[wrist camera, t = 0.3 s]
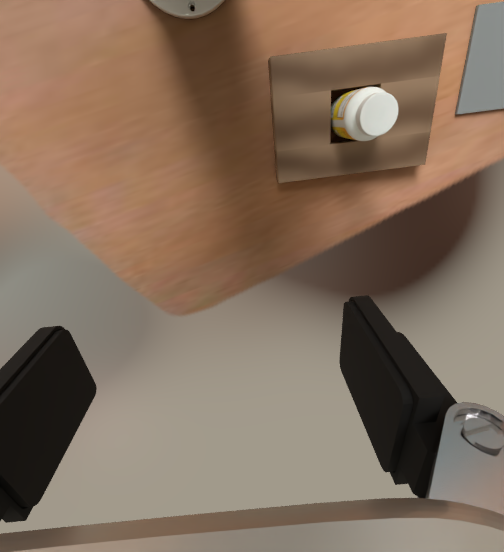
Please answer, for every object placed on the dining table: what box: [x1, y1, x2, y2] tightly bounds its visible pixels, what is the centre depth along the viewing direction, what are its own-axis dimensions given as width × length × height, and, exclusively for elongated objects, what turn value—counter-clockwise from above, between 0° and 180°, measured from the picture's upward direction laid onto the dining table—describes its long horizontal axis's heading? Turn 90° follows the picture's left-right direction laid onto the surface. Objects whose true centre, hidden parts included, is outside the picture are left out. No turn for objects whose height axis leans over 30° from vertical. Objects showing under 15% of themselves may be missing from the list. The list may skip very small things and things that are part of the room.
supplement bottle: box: [331, 87, 398, 141], centre depth 34 cm, size 5×5×10 cm
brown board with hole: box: [268, 33, 447, 183], centre depth 37 cm, size 14×20×2 cm
